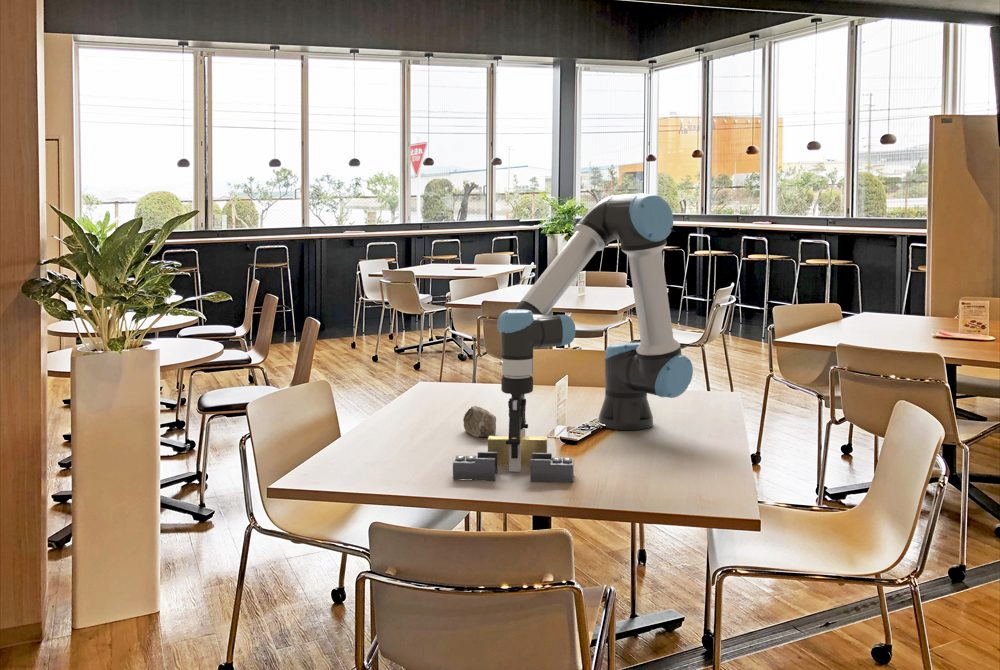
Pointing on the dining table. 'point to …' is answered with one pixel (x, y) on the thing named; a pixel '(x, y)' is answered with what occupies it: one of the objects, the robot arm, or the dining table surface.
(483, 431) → the stone
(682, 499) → the dining table surface
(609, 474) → the dining table surface
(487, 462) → the grey block pair
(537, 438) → the yellow wood block
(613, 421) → the robot arm
